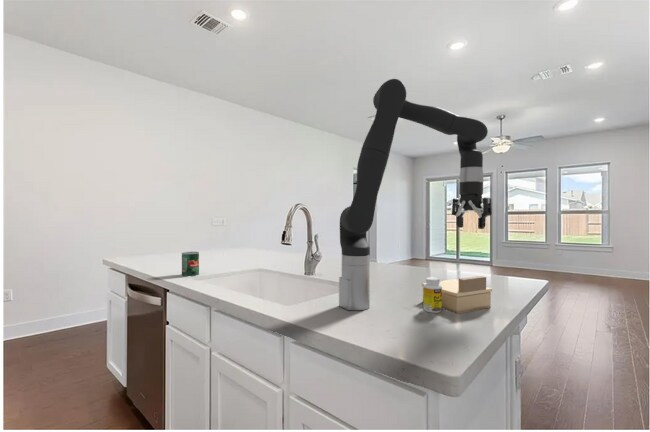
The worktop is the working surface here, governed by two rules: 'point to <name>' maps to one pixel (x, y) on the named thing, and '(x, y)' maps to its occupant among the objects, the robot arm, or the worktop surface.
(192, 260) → the canned tomato
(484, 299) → the box
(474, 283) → the lid
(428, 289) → the supplement bottle
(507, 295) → the worktop surface
